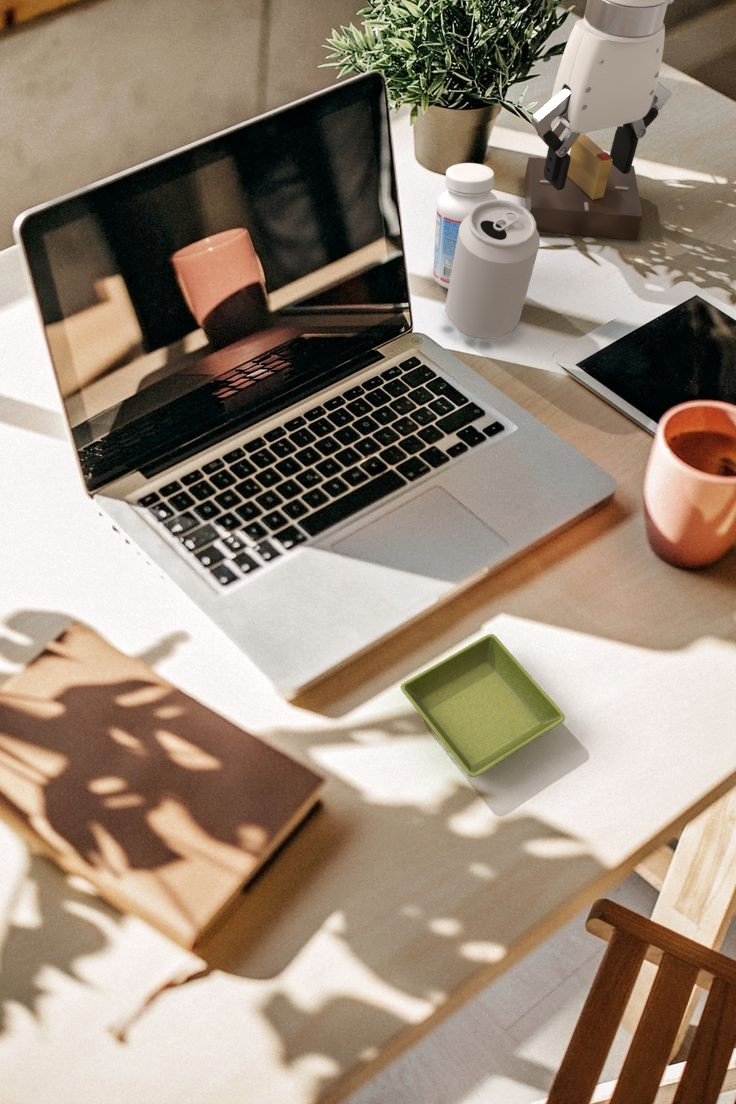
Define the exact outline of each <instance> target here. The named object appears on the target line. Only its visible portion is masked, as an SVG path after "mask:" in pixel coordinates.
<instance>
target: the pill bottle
mask: <svg viewBox="0 0 736 1104" xmlns="http://www.w3.org/2000/svg"><path fill="white" fill-rule="evenodd" d="M494 182H495V172H494V170H493V169H492V168H491V167H489V166H487V165H485V164H482V163H474V162H463V163H457V164H454V165H451V166H449V167H448V168H447V169H446V171H445V180H444V185H445V188H446V190H444V191H443V192H442V193H441V194H440V196H438V198H437V203H436V214H435V217H436V218H435V232H434V233H435V234H434V235H435V237H434V251H433V253H434V255H433V278H434V280H435V282H436V283H437V284H438V285H439V286H441V287H443V288H444V289H447V290H448V288H449V283H450V277H451V271H452V266H453V260H454V255H455V249H456V243H457V238H458V232H459V226H460V224H461V223H462V221H463V219H464V218H465V217H467V216H468V215H469V213H470V212H471V210H472V208H474V207H475V206H476V205H478V204H479V203H482V202H485V201H488V200H498V197H496V195H495V194H494V193H493V192H492V190H493V187H494V186H495V183H494Z"/></svg>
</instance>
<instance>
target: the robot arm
mask: <svg viewBox="0 0 736 1104" xmlns="http://www.w3.org/2000/svg"><path fill="white" fill-rule="evenodd" d="M674 1H675V0H587V1H586V4H585V5H586V6H585V10H584V15H583V18H581V19H578V20H576V22H575V24H574V25H573V28H572V30H571V32H570V35H569V37H568V39H567V42H566V44H565V48H564V51H563V54H562V57H561V60H560V63H559V67H558V70H557V74H556V77H555V81H554V85H553V89H552V93H551V98H550V100H548V102H547V103H545V104H544V105H543V106H542V107H541V108H539V109H538V110H537V111H536V112H535V113H534V114H533V115H532V116H531V118H530V120H531V121H530V122H531V123H532V125H533V127H534V129H535V131H536V132H537V136H538V137H539V138H540V140H542V142H543V143H544V144H545V145H546V146H547V147H548V148H547V153H546V163H545V168H544V177H545V179H546V180H547V181H548V182H549V183H551V184H552V185H553V186H554V187H555V188H556V189H557V190H562V189H563V188H564V187H565V183H566V178H567V174H568V169H569V165H570V160H571V157H570V153H568V152H570V151H571V147H572V145H573V144H574V142H575V141H576V140H577V138H578V137H579V135H581V134H587V133H592V132H596V131H599V130H604V129H609V128H613V127H616V130H615V131H614V132H615V133H614V136H613V139H612V140H613V141H612V145H611V148H610V152H609V155H610V156H611V158H612V159H613V160H612V164H613V165H614V166H615V167H616V168H617V169H618V170H619V171H621V172H622V173H623V174H627V173H629V172H630V170H631V166H633V162H634V158H635V155H636V151H637V148H638V144H639V140H640V139H642V138H644V137H645V135H646V134H647V128H648V127H649V126H650V125H651V124H652V123H653V122H654V121H655V120H656V119H657V117H658V115H659V111H661V110H662V108H663V107H664V106H665V104H667V102H668V101H669V99H671V96H672V91H670V90H669V89H668V88H667V87H665V86H664V85H663V84H662V83H661V82H660V81H659V76H660V72H661V66H662V61H663V56H664V46H665V34H666V26H665V23H664V20H665V15H666V12H667V9H668V5H672V4H673V3H674ZM555 119H556V120H555ZM554 120H555V123H554V124H553V125H552V122H554ZM566 129H567V130H568V131H567V132H566V134H565V135H564V137H563V138H562V139H560V137H561V135H562V134H563V133H564V131H565V130H566Z"/></svg>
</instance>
